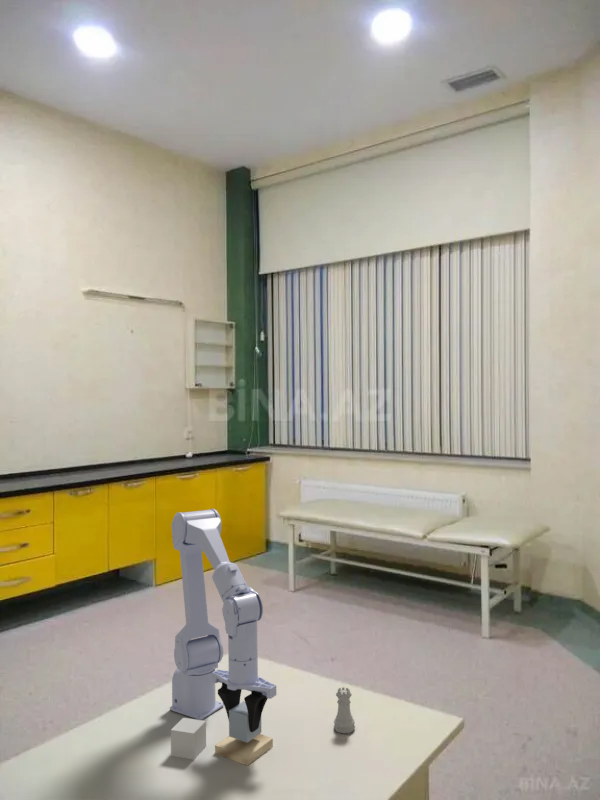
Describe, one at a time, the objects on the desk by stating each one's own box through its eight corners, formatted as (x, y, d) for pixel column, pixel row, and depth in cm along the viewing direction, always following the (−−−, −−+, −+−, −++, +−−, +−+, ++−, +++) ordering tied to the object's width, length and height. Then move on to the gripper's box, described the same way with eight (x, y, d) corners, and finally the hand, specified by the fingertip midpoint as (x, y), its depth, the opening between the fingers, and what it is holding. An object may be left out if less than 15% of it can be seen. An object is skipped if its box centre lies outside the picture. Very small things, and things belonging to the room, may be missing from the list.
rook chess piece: (353, 735, 123) (353, 695, 123) (332, 733, 124) (331, 693, 124) (356, 724, 127) (355, 686, 127) (335, 722, 128) (334, 684, 128)
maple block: (215, 755, 117) (215, 745, 117) (241, 737, 124) (241, 727, 124) (247, 768, 112) (247, 757, 113) (272, 748, 119) (272, 738, 119)
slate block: (229, 736, 118) (228, 710, 118) (243, 726, 122) (243, 701, 122) (247, 742, 115) (247, 715, 116) (261, 732, 119) (261, 706, 119)
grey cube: (171, 756, 116) (170, 729, 116) (183, 743, 121) (183, 717, 121) (194, 760, 115) (194, 733, 115) (206, 746, 119) (205, 720, 120)
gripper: (201, 655, 119) (202, 725, 119) (260, 670, 111) (261, 745, 111) (224, 644, 125) (225, 710, 125) (282, 657, 117) (283, 729, 117)
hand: (243, 726), depth 118 cm, fingers closed on slate block, 4 cm apart
